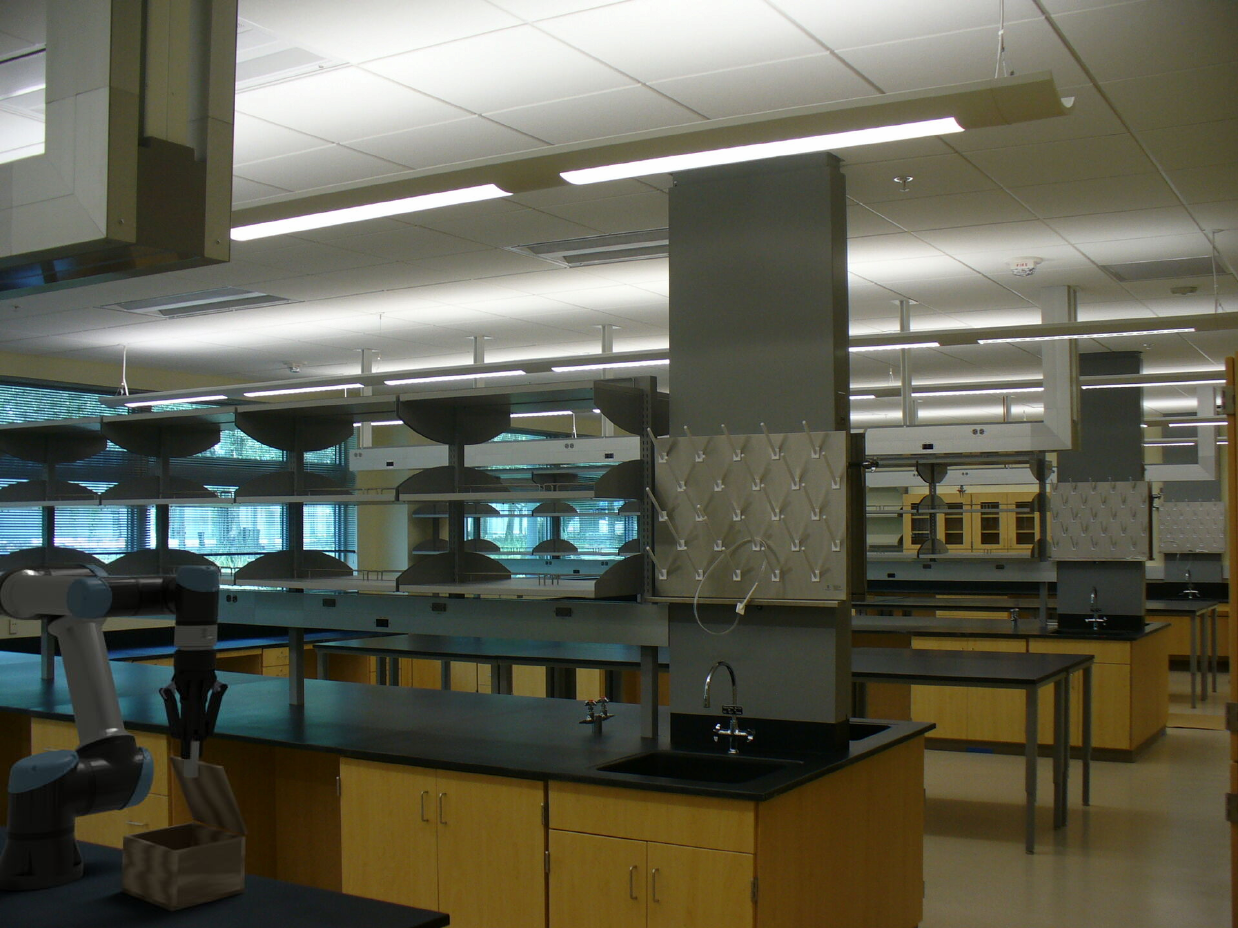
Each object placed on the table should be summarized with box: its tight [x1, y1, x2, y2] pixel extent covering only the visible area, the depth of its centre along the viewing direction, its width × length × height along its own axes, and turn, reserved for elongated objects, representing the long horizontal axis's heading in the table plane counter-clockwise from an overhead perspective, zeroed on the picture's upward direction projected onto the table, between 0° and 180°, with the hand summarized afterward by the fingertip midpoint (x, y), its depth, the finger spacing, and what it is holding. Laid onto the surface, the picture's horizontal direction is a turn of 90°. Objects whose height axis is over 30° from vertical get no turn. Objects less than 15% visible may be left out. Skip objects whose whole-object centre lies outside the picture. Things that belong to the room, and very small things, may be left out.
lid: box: [168, 754, 249, 836], centre depth 212 cm, size 18×14×1 cm
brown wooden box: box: [120, 821, 246, 912], centre depth 207 cm, size 18×14×10 cm
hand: (190, 776), depth 209 cm, fingers closed
